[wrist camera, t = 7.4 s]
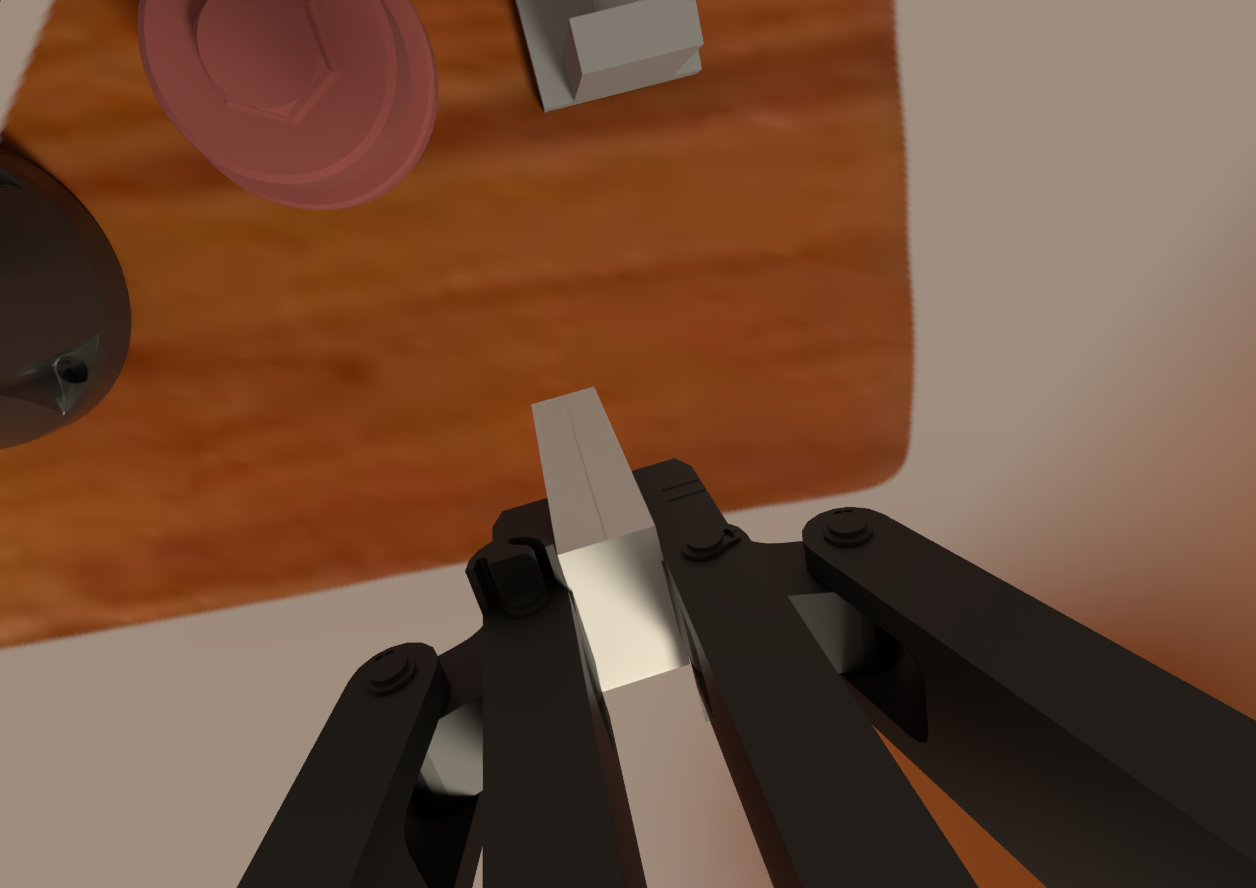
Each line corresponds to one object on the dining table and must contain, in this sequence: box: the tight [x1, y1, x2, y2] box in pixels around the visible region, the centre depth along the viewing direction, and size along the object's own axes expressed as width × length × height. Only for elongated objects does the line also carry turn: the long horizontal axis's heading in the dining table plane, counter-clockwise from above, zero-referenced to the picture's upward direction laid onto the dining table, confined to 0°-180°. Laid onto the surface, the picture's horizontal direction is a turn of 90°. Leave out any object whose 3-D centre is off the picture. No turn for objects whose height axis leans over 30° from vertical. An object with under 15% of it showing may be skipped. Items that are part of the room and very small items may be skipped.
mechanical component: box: [137, 0, 438, 210], centre depth 29 cm, size 12×10×10 cm
